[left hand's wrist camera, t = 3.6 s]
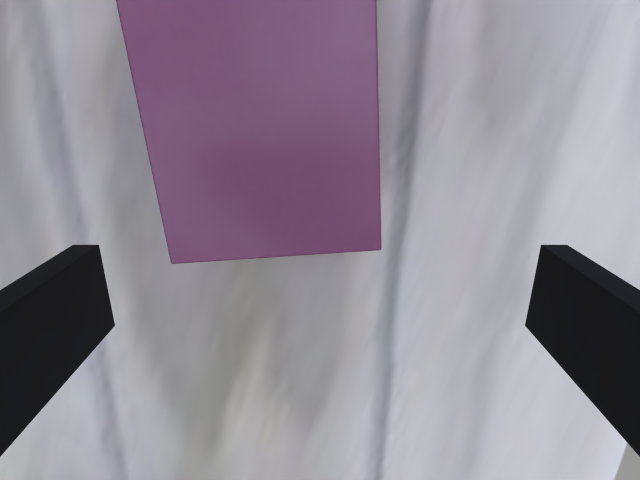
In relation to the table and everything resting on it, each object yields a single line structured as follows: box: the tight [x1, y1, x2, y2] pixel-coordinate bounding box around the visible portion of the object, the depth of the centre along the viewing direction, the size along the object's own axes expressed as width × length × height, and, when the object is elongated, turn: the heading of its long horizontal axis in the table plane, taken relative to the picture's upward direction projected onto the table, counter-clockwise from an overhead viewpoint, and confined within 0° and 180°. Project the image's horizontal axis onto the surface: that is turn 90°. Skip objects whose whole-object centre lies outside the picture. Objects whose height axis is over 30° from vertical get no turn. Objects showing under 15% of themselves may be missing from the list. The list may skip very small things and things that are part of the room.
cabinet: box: [116, 0, 381, 264], centre depth 22 cm, size 21×11×11 cm, turn 4°
